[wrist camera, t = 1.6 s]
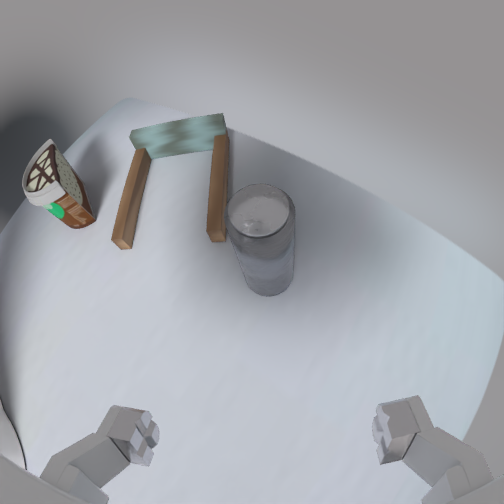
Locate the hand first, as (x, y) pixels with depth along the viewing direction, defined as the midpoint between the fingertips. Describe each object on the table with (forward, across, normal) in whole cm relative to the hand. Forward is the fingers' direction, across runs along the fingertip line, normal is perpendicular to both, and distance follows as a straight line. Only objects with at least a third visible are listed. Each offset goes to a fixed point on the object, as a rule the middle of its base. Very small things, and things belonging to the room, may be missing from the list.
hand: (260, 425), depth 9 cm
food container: (+28, +28, -5) cm, 40 cm away
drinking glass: (+21, 0, +3) cm, 21 cm away
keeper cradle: (+29, +11, -6) cm, 32 cm away
